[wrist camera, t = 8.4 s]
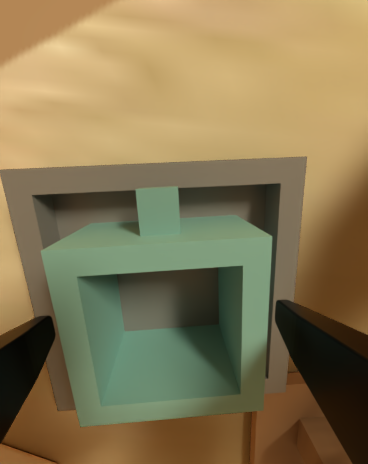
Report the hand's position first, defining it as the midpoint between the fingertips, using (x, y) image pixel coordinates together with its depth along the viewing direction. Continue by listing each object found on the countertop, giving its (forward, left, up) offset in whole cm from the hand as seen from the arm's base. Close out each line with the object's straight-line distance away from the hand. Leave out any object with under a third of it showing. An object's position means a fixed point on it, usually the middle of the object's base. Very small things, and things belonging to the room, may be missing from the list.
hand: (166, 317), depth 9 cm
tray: (0, 0, -3) cm, 3 cm away
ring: (0, 0, -3) cm, 3 cm away
